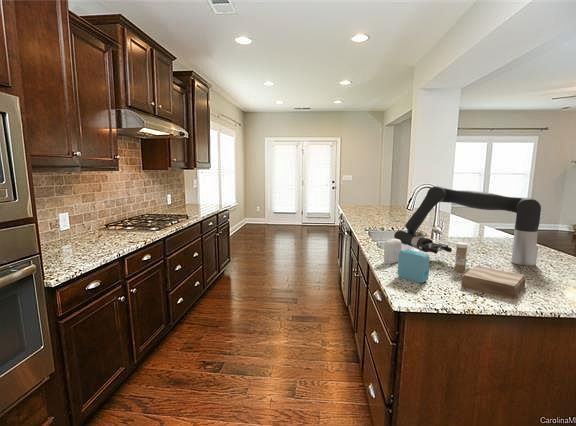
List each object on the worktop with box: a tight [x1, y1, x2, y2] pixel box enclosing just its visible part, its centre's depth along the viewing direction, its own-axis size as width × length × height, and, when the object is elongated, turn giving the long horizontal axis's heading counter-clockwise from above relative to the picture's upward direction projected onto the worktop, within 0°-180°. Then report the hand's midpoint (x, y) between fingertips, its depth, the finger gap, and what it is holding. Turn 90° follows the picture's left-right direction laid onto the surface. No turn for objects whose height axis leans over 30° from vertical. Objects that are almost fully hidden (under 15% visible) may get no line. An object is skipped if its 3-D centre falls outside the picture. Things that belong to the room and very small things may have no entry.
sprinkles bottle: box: [454, 241, 469, 273], centre depth 145 cm, size 5×5×13 cm
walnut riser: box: [460, 265, 526, 301], centre depth 126 cm, size 18×18×5 cm
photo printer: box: [383, 238, 403, 265], centre depth 159 cm, size 10×4×12 cm, turn 123°
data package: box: [397, 249, 431, 284], centre depth 135 cm, size 12×4×12 cm, turn 40°
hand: (444, 250), depth 155 cm, fingers open, 8 cm apart
